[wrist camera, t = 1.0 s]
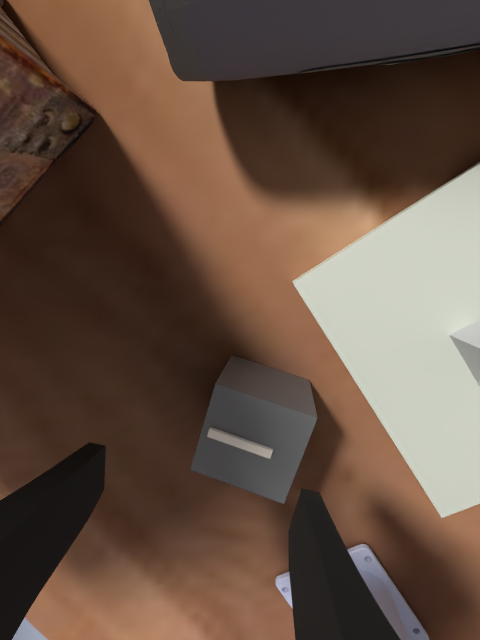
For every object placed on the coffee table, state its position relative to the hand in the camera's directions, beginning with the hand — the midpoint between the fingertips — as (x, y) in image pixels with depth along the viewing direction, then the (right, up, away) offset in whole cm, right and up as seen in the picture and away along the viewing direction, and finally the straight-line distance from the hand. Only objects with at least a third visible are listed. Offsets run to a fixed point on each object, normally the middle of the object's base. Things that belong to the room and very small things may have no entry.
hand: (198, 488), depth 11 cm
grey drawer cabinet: (+3, 0, +10) cm, 11 cm away
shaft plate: (+15, +4, +8) cm, 18 cm away
